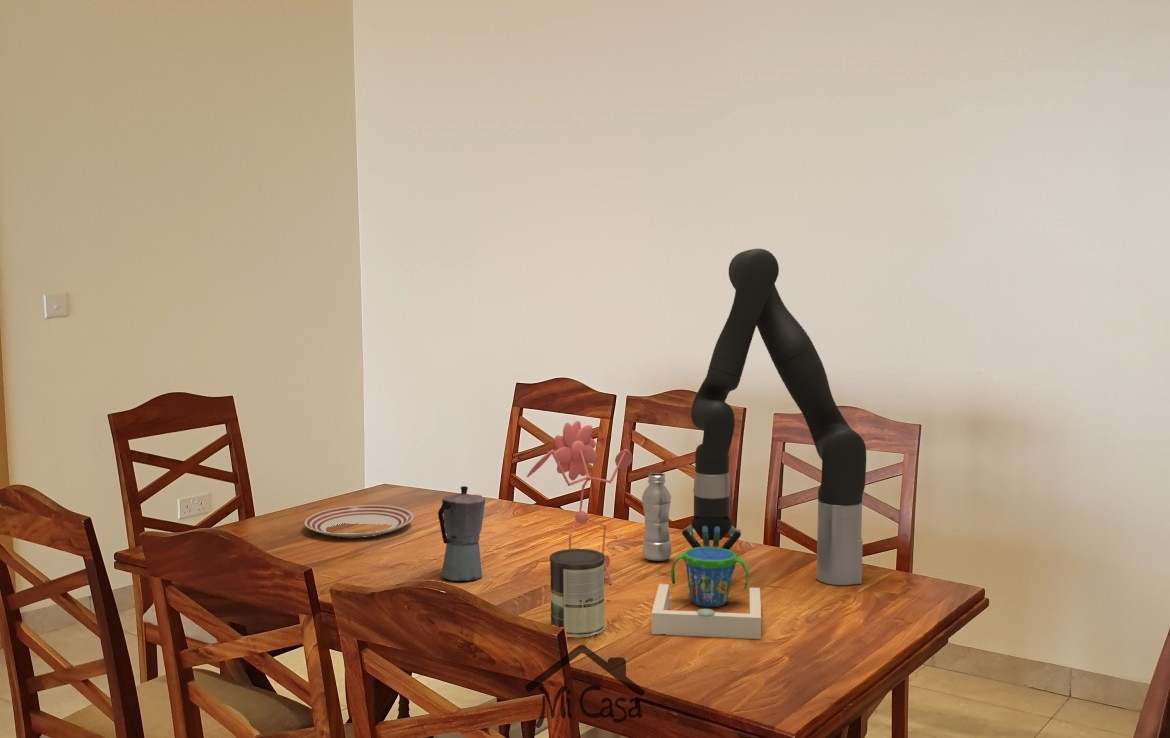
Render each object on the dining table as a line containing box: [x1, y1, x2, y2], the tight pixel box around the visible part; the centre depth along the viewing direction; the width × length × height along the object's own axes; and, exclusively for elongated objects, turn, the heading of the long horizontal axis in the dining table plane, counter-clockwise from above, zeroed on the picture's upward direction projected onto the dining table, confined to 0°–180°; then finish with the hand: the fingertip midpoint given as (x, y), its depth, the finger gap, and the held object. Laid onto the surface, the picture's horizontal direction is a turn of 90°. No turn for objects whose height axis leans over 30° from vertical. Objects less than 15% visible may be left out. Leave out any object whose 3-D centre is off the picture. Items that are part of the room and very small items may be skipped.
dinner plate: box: [304, 504, 415, 538], centre depth 281 cm, size 28×27×3 cm
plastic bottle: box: [641, 472, 672, 562], centre depth 250 cm, size 6×7×20 cm
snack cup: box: [670, 546, 750, 608], centre depth 220 cm, size 16×10×10 cm
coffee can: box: [549, 548, 606, 639], centre depth 205 cm, size 10×10×14 cm
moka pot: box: [437, 485, 486, 582], centre depth 238 cm, size 10×15×20 cm, turn 155°
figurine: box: [526, 420, 635, 586], centre depth 233 cm, size 15×26×35 cm, turn 131°
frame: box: [650, 583, 762, 640], centre depth 210 cm, size 20×19×4 cm
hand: (711, 572), depth 232 cm, fingers closed
